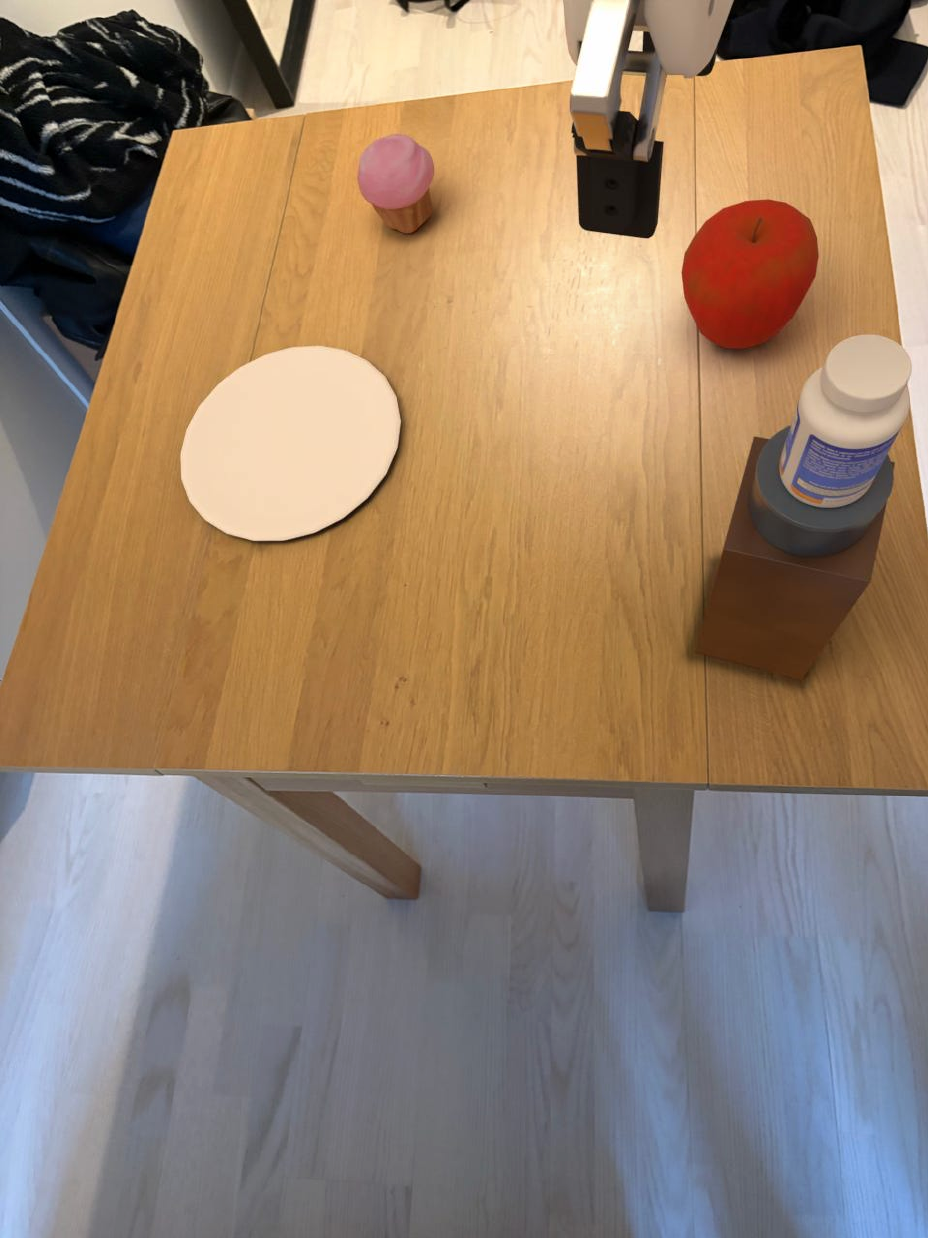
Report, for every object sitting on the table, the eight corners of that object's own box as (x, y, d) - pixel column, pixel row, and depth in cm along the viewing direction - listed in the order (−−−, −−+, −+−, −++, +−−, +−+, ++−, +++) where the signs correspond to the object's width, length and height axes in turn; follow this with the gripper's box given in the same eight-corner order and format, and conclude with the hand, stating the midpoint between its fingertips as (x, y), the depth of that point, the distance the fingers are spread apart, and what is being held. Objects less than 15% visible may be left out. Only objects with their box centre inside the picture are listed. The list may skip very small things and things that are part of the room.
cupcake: (457, 206, 96) (441, 128, 86) (417, 257, 94) (396, 183, 84) (399, 186, 99) (377, 109, 90) (359, 235, 97) (332, 161, 88)
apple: (745, 266, 85) (768, 145, 72) (825, 333, 80) (865, 216, 67) (651, 327, 84) (658, 215, 71) (726, 398, 79) (748, 292, 66)
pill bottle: (891, 488, 47) (955, 381, 38) (807, 524, 47) (851, 427, 38) (839, 421, 49) (889, 305, 40) (759, 456, 49) (791, 348, 40)
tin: (884, 467, 52) (904, 431, 48) (862, 571, 49) (881, 541, 46) (761, 444, 54) (771, 408, 50) (734, 543, 52) (743, 512, 48)
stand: (822, 587, 70) (895, 461, 52) (801, 680, 67) (870, 582, 49) (719, 563, 73) (754, 435, 54) (694, 652, 70) (723, 549, 52)
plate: (369, 321, 91) (366, 313, 90) (431, 494, 81) (428, 488, 80) (168, 398, 92) (163, 391, 91) (204, 579, 82) (198, 574, 81)
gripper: (766, -326, 15) (684, 313, 31) (914, -682, 21) (780, 19, 36) (413, -305, 17) (504, 285, 33) (629, -633, 23) (619, 11, 38)
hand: (648, 146), depth 35 cm, fingers open, 9 cm apart
